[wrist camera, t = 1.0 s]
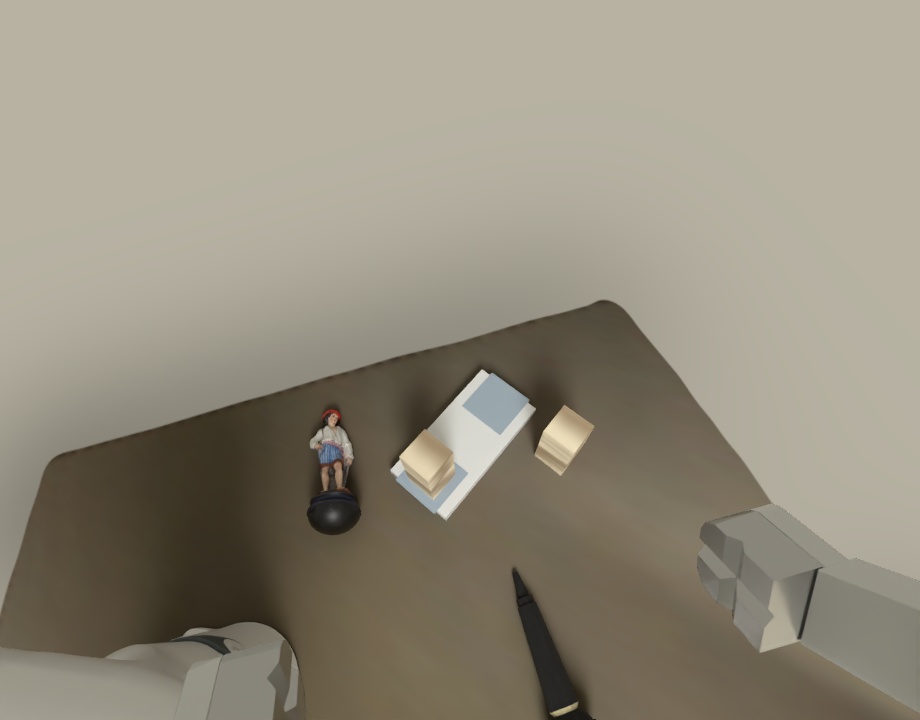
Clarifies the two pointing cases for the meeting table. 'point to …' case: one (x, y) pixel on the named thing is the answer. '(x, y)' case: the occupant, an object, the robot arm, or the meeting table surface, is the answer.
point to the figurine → (333, 479)
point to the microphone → (547, 660)
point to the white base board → (472, 437)
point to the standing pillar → (428, 464)
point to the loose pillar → (563, 439)
